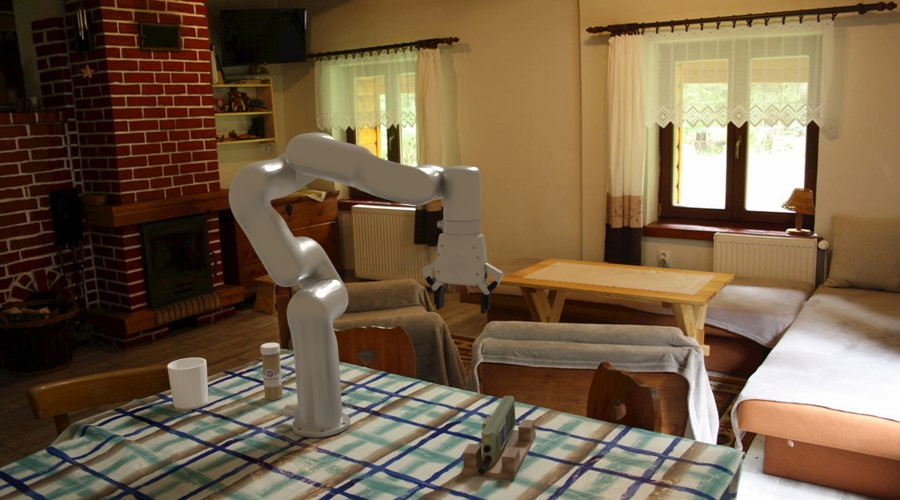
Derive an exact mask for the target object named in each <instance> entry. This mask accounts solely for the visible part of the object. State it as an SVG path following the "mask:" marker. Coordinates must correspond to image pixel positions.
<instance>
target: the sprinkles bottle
mask: <svg viewBox="0 0 900 500" xmlns="http://www.w3.org/2000/svg"><path fill="white" fill-rule="evenodd" d="M259 350H260V355H261V365H262V366H261V367H262V380H263V387H264V390H263V391H264V399H265V400H267V401H276V400H280V399H281V398H283V396H284V394H283V381H282V379H283V377H282V367H281V358H280V357H281V355H280V352H281V345H280V343H277V342H266V343H263V344H261V345H260V348H259Z"/></svg>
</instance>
